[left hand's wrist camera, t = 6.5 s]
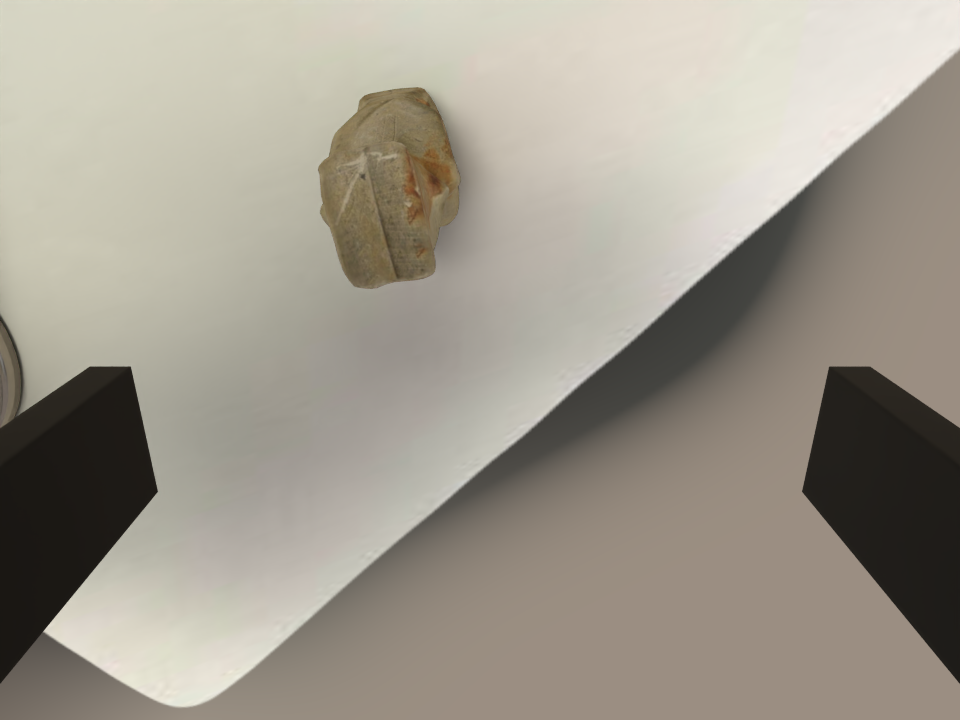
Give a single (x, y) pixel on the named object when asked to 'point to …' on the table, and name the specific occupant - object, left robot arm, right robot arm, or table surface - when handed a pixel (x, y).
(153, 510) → the table surface
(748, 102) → the table surface
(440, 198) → the sculpture
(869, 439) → the left robot arm
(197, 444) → the table surface
